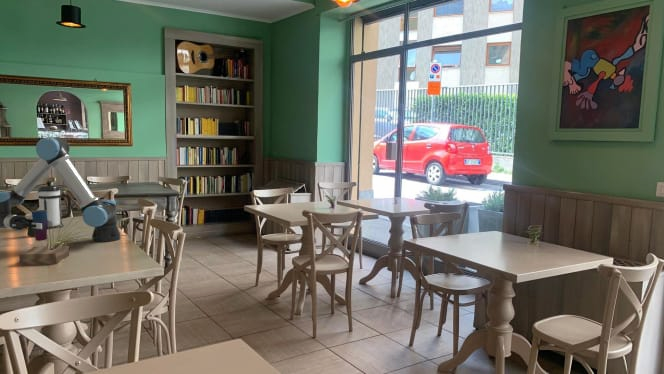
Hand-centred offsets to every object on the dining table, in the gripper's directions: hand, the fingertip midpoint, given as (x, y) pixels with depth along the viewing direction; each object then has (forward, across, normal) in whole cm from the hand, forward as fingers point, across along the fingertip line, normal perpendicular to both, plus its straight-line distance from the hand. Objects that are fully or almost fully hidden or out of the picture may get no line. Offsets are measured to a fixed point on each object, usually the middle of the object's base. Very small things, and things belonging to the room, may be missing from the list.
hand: (47, 225), depth 259 cm
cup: (-5, 0, -8) cm, 10 cm away
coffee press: (-58, -50, -14) cm, 78 cm away
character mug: (-44, -25, -14) cm, 52 cm away
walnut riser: (+12, +12, -14) cm, 22 cm away
